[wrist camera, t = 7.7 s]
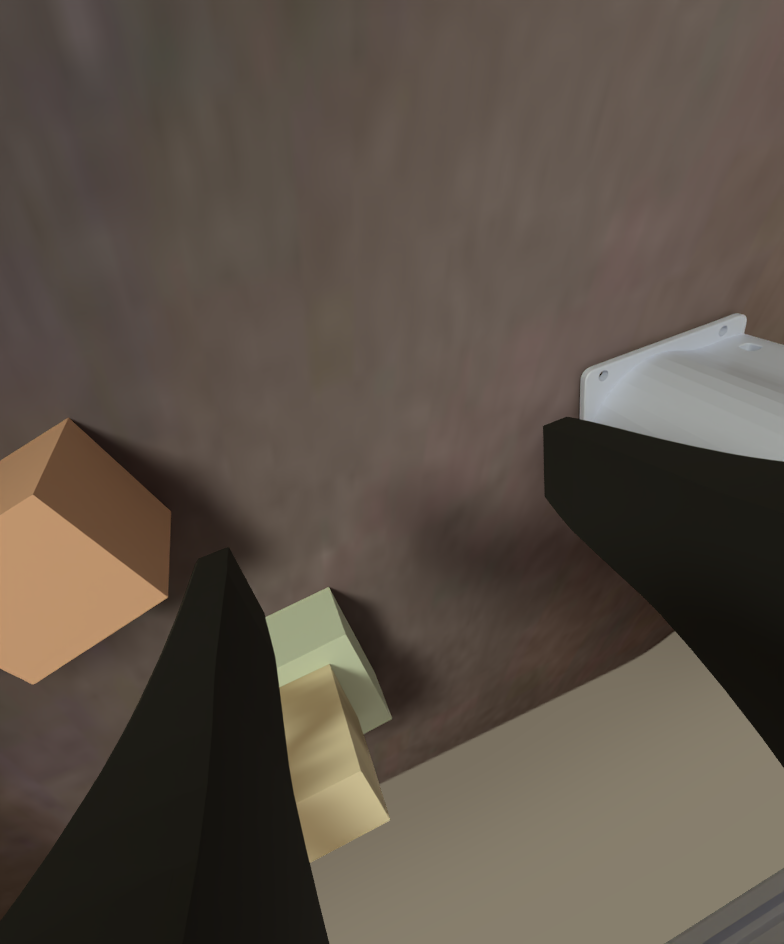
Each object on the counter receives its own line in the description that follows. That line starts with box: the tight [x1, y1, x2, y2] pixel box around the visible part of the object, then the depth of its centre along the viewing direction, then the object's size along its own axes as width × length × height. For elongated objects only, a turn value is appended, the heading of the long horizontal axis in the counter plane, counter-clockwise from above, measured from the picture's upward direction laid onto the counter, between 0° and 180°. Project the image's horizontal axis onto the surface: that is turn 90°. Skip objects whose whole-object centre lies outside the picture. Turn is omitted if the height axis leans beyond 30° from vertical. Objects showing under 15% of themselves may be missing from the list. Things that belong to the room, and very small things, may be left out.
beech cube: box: [279, 664, 390, 863], centre depth 22 cm, size 5×5×5 cm
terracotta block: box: [0, 418, 171, 685], centre depth 16 cm, size 5×5×5 cm
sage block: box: [265, 587, 392, 734], centre depth 25 cm, size 8×8×4 cm
